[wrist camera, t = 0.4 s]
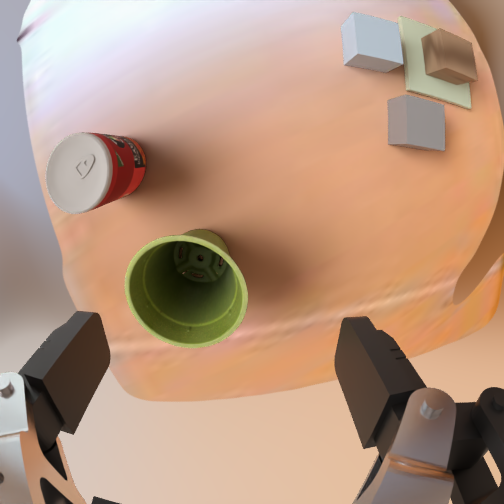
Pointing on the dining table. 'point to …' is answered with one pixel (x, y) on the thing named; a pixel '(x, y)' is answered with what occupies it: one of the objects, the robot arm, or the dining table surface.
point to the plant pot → (186, 290)
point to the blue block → (371, 43)
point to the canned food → (93, 171)
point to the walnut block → (448, 57)
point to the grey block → (416, 123)
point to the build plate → (416, 67)
